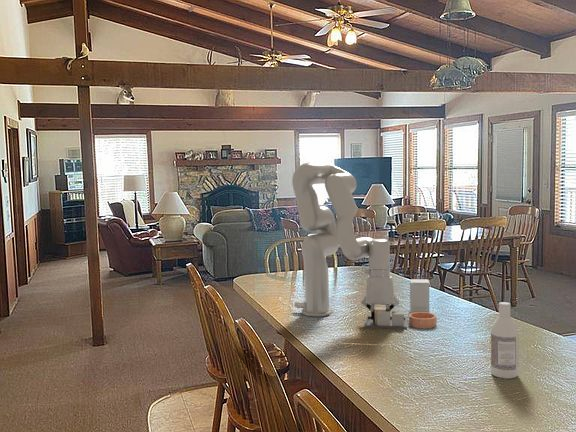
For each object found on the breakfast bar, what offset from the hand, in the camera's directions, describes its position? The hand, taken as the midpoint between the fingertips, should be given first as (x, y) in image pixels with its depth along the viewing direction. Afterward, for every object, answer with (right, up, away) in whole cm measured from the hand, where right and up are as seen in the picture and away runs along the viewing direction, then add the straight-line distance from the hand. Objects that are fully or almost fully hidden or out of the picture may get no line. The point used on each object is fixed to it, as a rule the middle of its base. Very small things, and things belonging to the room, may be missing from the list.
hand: (380, 321), depth 206 cm
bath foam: (+25, -5, -53) cm, 59 cm away
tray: (+2, -1, -2) cm, 3 cm away
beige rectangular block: (0, 0, 0) cm, 0 cm away
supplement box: (+18, +1, +14) cm, 23 cm away
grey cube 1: (0, -1, -5) cm, 5 cm away
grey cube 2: (+5, -1, -6) cm, 8 cm away
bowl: (+15, -1, -4) cm, 15 cm away
